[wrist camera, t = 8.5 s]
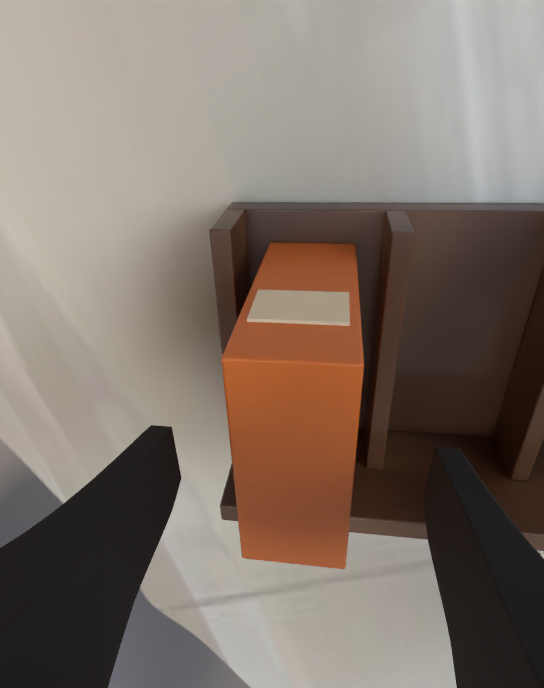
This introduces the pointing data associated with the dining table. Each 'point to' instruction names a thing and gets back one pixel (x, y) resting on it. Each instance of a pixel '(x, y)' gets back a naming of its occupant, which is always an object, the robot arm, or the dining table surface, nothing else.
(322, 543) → the book
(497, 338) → the book rack
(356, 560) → the dining table surface
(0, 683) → the robot arm
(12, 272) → the dining table surface
